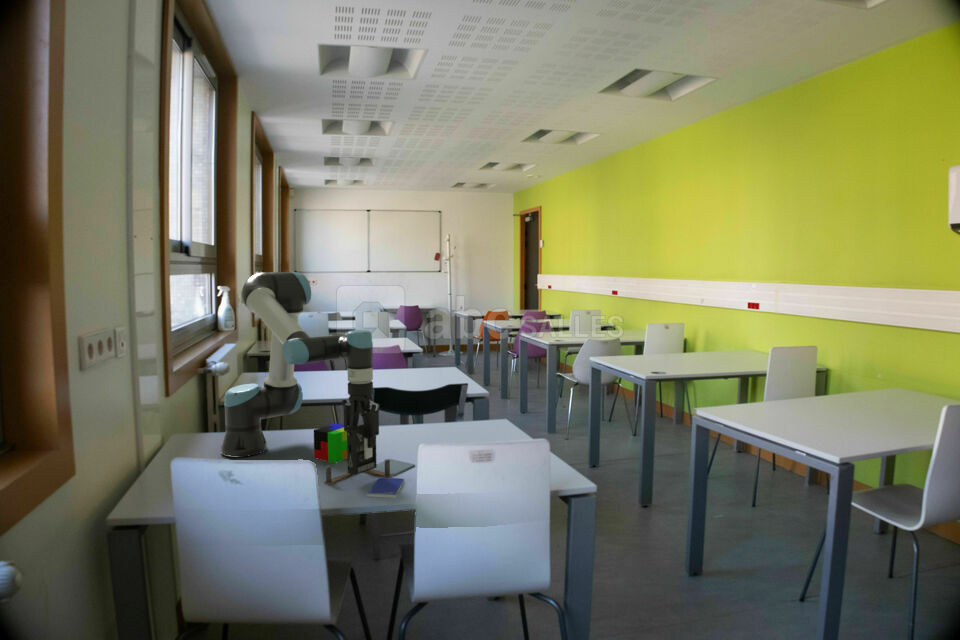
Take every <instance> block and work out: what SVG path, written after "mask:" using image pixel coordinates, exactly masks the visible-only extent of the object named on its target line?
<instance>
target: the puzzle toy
mask: <svg viewBox="0 0 960 640" xmlns="http://www.w3.org/2000/svg"><path fill="white" fill-rule="evenodd" d="M313 454H314V456H313V458H314V459H316V458H318V459H317V460H320V459H321V460H320V461H324V460H325V461H324V462H328V461H329V463H332V462H333V463H334V464H337V463H340V462H342V461H345V460H347V459H346V458H347V431H344V424H342V423H341V424H340V423H332V424H328V425H325V426H322V427H319V428H316V429H313ZM344 459H345V460H344ZM339 461H340V462H339ZM336 462H337V463H336Z"/></svg>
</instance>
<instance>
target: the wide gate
mask: <svg viewBox="0 0 960 640" xmlns="http://www.w3.org/2000/svg"><path fill="white" fill-rule="evenodd" d="M351 475H352V474H349V473H348V471H347V472H345V473H343V474H340V475H338V476H336V477H333V478H332V465H326V466H325V481H324V485H326V484H327V485H326V486H331V485H333V484H336V483H337V482H341V481H342V479H343V480H345V479H348V478H349V476H350V477H352V476H353V475H352V476H351ZM330 484H331V485H330Z"/></svg>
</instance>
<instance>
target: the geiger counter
mask: <svg viewBox="0 0 960 640" xmlns="http://www.w3.org/2000/svg"><path fill="white" fill-rule="evenodd" d="M350 426H351V427H352V428H350ZM365 437H366V433H365V428H364V423H363V424H360V425H358V426H356V427H353V425H350V424H349V428H347V459H346V460H347V472H348V473H349V474H352V476H356V475H360V474H362V473H364V472H366V471H368V470H371V469H374V468H376V467H377V466H376V464H377V435H376V436H374V446H373V447H372V457H370V458H368V459H364V438H365Z"/></svg>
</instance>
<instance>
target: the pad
mask: <svg viewBox="0 0 960 640" xmlns="http://www.w3.org/2000/svg"><path fill="white" fill-rule="evenodd" d="M388 459H389V460H390V474H391V477H394V476H396V475H399V474H401V473H403V472H405V471H407V470H409V469H411V468H413V467H415V466H416V464H415V463H410V462H406V461H401V460H398V459H393V458H388ZM376 466H377V467H376V468H374V469H372V470H376V471H380V472H384V473H385V460H383V461H381V462H379V463H376Z"/></svg>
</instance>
